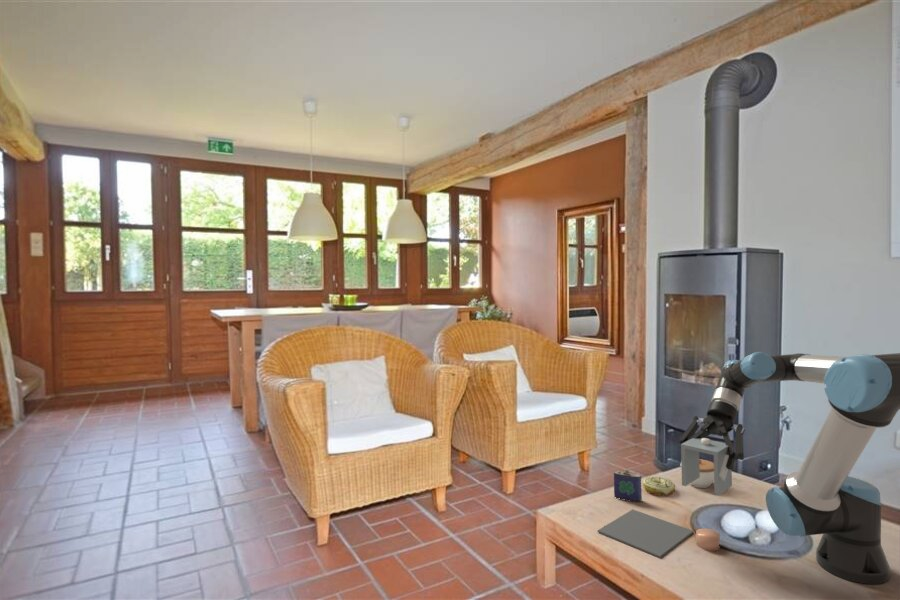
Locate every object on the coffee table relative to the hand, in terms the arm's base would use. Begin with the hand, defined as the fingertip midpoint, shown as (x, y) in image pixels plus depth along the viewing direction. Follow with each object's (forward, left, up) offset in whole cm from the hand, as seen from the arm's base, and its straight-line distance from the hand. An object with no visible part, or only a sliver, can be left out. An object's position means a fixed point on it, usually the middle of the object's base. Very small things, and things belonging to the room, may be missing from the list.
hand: (701, 473), depth 143 cm
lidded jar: (+20, -43, -22) cm, 52 cm away
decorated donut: (+28, -28, -22) cm, 45 cm away
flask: (+32, -14, -22) cm, 41 cm away
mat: (+16, +3, -22) cm, 27 cm away
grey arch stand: (0, -3, -4) cm, 5 cm away
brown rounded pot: (0, -3, -22) cm, 22 cm away
